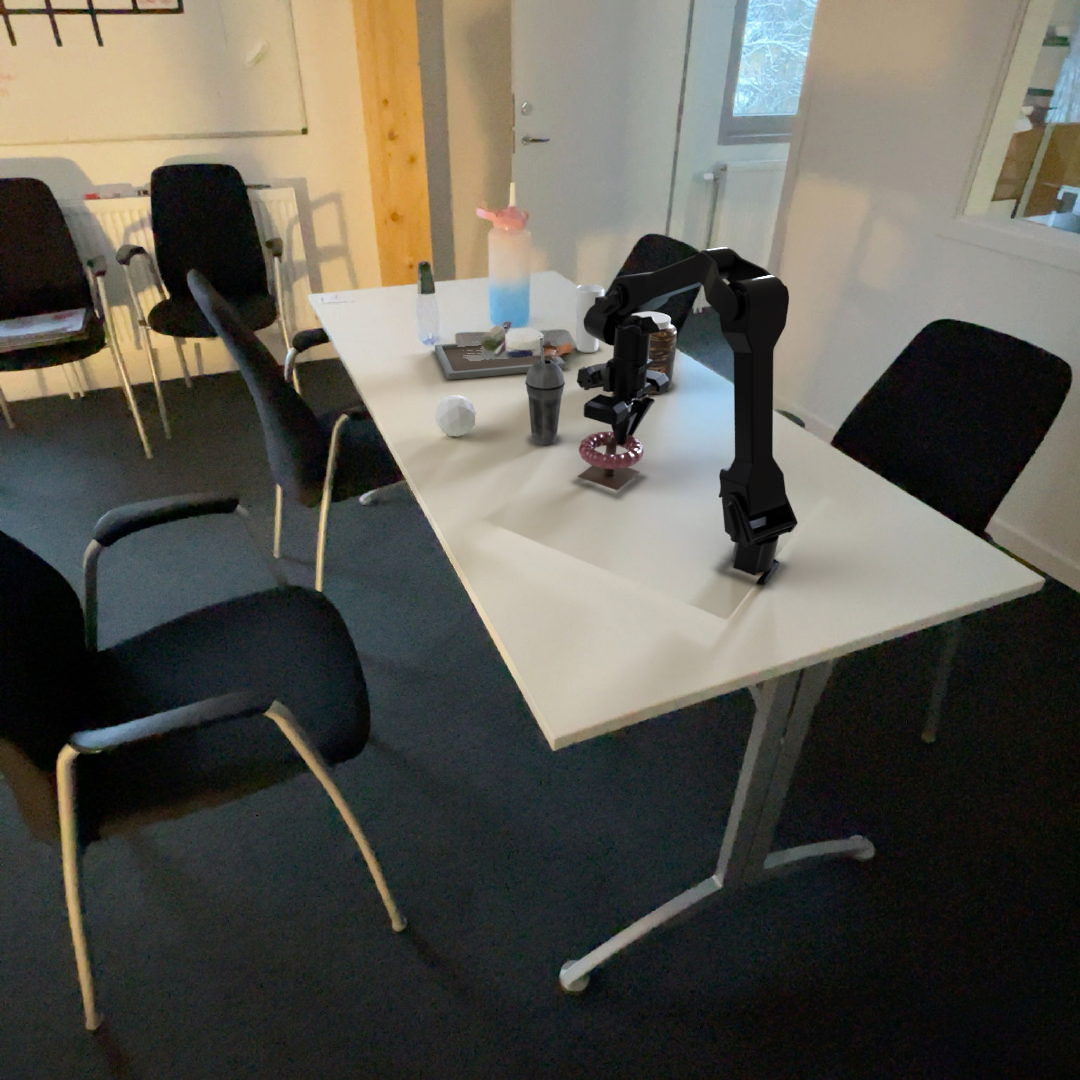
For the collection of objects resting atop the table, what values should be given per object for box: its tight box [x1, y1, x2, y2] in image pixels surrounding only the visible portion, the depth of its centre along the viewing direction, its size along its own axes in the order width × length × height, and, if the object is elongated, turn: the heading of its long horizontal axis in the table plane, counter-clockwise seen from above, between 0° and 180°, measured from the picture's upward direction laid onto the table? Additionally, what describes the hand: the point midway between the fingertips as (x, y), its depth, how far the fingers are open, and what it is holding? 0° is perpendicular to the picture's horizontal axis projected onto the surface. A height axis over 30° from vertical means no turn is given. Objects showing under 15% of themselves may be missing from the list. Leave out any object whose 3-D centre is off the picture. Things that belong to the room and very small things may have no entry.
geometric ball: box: [434, 394, 477, 438], centre depth 141 cm, size 8×8×8 cm
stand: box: [577, 438, 641, 491], centre depth 127 cm, size 8×8×8 cm
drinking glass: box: [574, 283, 605, 354], centre depth 179 cm, size 7×7×15 cm
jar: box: [630, 311, 678, 395], centre depth 161 cm, size 12×12×15 cm
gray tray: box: [434, 341, 566, 381], centre depth 176 cm, size 19×2×30 cm
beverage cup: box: [524, 338, 566, 446], centre depth 136 cm, size 7×7×20 cm
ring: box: [578, 430, 645, 469], centre depth 126 cm, size 11×11×2 cm
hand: (623, 441), depth 129 cm, fingers closed on ring, 2 cm apart
